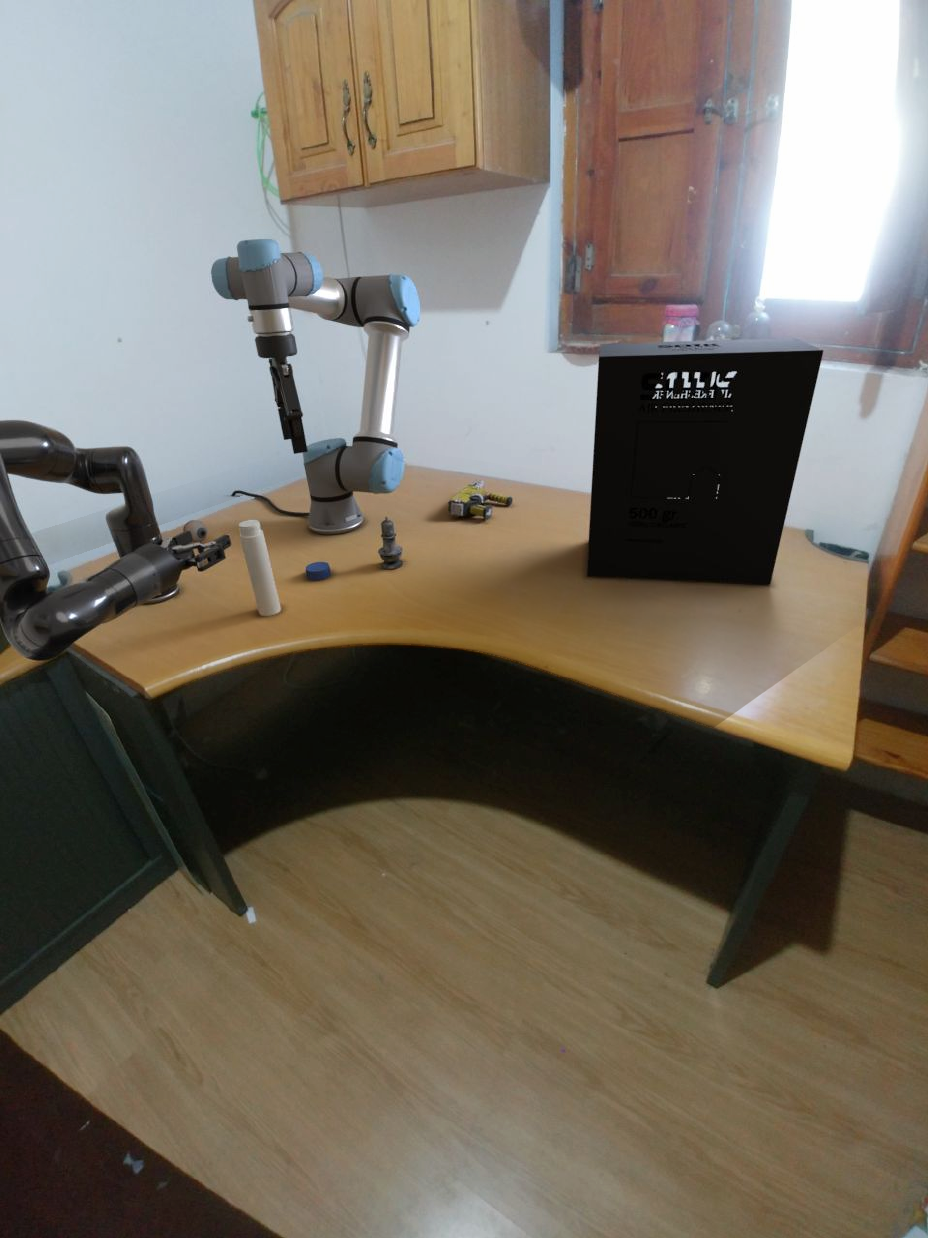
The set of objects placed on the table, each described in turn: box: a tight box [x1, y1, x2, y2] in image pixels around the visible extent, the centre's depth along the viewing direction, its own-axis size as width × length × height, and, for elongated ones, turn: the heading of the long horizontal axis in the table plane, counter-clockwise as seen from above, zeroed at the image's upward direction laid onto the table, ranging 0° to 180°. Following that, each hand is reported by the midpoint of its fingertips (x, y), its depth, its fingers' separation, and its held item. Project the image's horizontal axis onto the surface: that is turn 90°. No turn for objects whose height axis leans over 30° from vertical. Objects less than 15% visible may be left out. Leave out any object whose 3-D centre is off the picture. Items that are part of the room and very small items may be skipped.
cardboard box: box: [586, 337, 824, 586], centre depth 127 cm, size 38×20×45 cm, turn 78°
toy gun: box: [447, 479, 514, 521], centre depth 175 cm, size 5×24×15 cm
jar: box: [238, 519, 282, 617], centre depth 122 cm, size 4×4×20 cm
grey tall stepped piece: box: [377, 516, 404, 570], centre depth 141 cm, size 6×6×12 cm
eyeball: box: [182, 519, 208, 544], centre depth 162 cm, size 6×6×6 cm
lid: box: [305, 561, 332, 582], centre depth 141 cm, size 6×6×2 cm
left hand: (209, 537), depth 108 cm, fingers open, 8 cm apart
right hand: (295, 445), depth 126 cm, fingers open, 13 cm apart
